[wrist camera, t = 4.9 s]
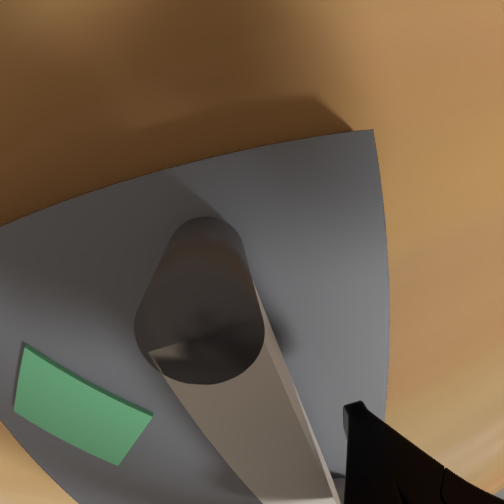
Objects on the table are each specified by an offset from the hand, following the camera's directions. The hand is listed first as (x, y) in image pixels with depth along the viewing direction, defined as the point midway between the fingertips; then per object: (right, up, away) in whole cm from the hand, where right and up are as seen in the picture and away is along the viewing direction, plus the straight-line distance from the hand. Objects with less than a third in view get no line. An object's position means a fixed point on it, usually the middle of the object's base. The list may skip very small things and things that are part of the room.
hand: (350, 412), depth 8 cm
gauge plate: (-6, -2, +3) cm, 7 cm away
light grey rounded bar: (-1, -2, +2) cm, 3 cm away
